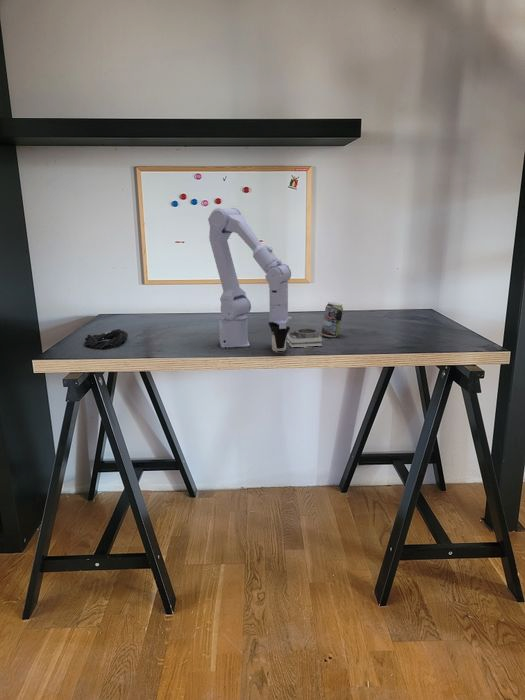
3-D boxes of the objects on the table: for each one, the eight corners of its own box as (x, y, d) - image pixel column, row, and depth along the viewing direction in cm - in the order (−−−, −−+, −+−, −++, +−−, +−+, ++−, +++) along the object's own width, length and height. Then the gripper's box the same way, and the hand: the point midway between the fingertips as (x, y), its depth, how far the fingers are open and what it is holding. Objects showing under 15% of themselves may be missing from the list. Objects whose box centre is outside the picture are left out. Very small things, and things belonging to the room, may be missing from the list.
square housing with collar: (291, 348, 166) (291, 334, 165) (286, 342, 174) (286, 329, 173) (321, 346, 168) (321, 333, 167) (315, 340, 175) (315, 327, 174)
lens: (272, 352, 161) (272, 334, 160) (270, 348, 166) (270, 330, 164) (287, 351, 162) (287, 333, 161) (284, 348, 166) (284, 330, 165)
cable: (123, 350, 168) (122, 337, 167) (79, 351, 167) (78, 338, 166) (130, 337, 185) (129, 325, 184) (90, 339, 183) (88, 327, 182)
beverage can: (318, 335, 183) (318, 302, 180) (336, 333, 185) (337, 300, 182) (326, 339, 177) (327, 305, 174) (345, 337, 180) (346, 303, 176)
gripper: (295, 307, 154) (295, 351, 157) (287, 299, 168) (287, 340, 171) (272, 308, 153) (273, 352, 156) (265, 300, 167) (266, 341, 170)
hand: (278, 346), depth 164 cm, fingers closed on lens, 4 cm apart
